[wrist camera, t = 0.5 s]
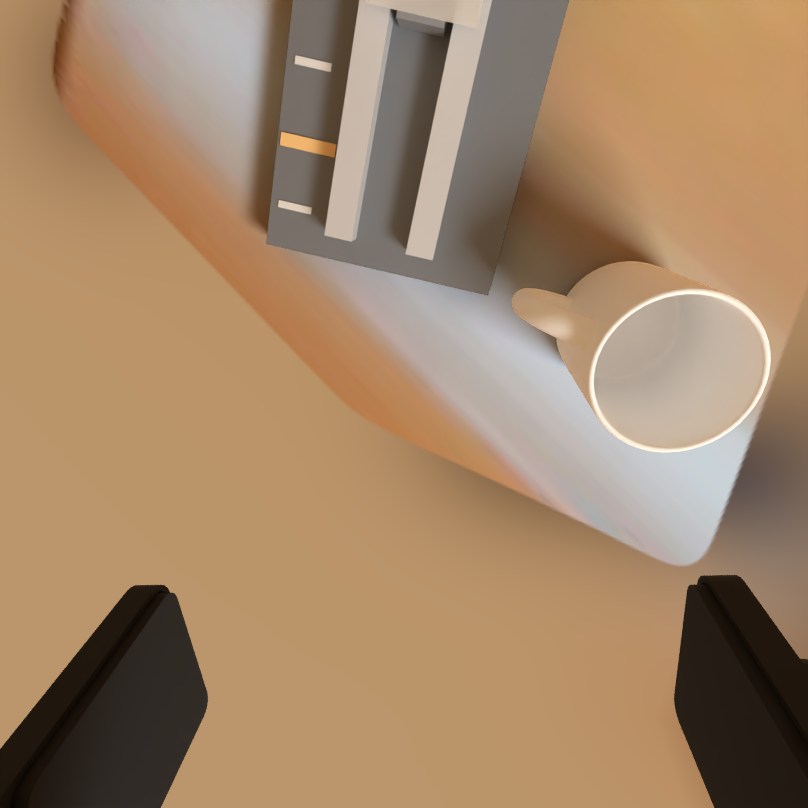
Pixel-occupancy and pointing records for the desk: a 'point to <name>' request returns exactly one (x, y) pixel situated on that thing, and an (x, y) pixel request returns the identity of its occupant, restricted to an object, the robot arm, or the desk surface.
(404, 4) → the fader
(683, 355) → the mug
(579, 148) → the desk surface
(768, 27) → the desk surface
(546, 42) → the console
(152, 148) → the desk surface
